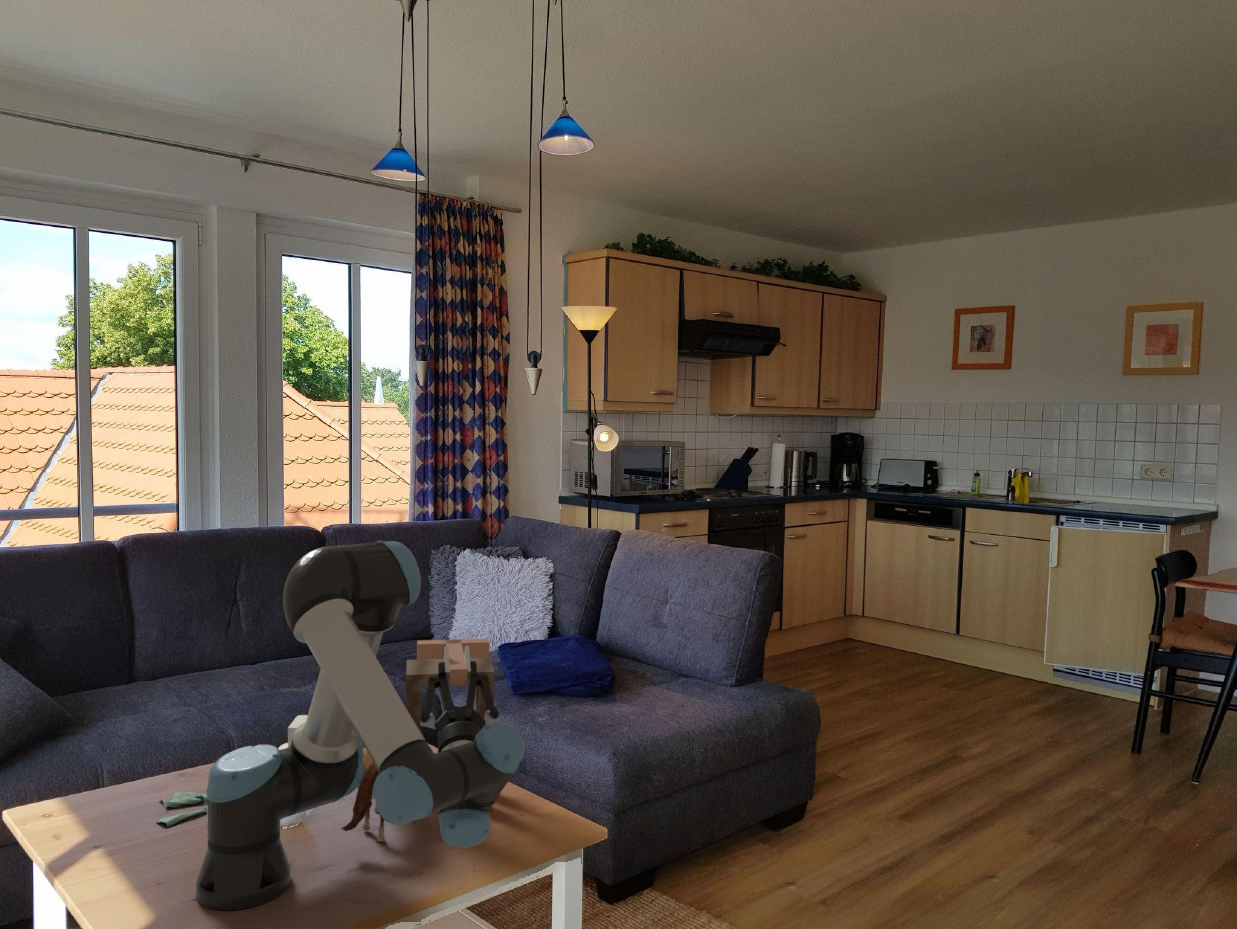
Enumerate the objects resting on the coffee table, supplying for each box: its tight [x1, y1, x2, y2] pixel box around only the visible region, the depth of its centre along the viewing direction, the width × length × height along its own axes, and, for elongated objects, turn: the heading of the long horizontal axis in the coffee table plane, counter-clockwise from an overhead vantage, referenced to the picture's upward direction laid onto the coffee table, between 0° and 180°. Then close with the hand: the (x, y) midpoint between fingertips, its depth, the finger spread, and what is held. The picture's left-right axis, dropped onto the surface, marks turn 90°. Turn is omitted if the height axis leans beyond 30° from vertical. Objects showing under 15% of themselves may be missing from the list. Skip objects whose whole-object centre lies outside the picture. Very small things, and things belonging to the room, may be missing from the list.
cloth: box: [156, 791, 208, 828], centre depth 185 cm, size 20×22×2 cm
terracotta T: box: [416, 638, 490, 687], centre depth 167 cm, size 14×22×3 cm, turn 13°
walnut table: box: [405, 656, 495, 813], centre depth 190 cm, size 18×12×30 cm, turn 103°
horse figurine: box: [340, 748, 386, 843], centre depth 181 cm, size 31×8×21 cm, turn 3°
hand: (456, 651), depth 164 cm, fingers closed on terracotta T, 3 cm apart
